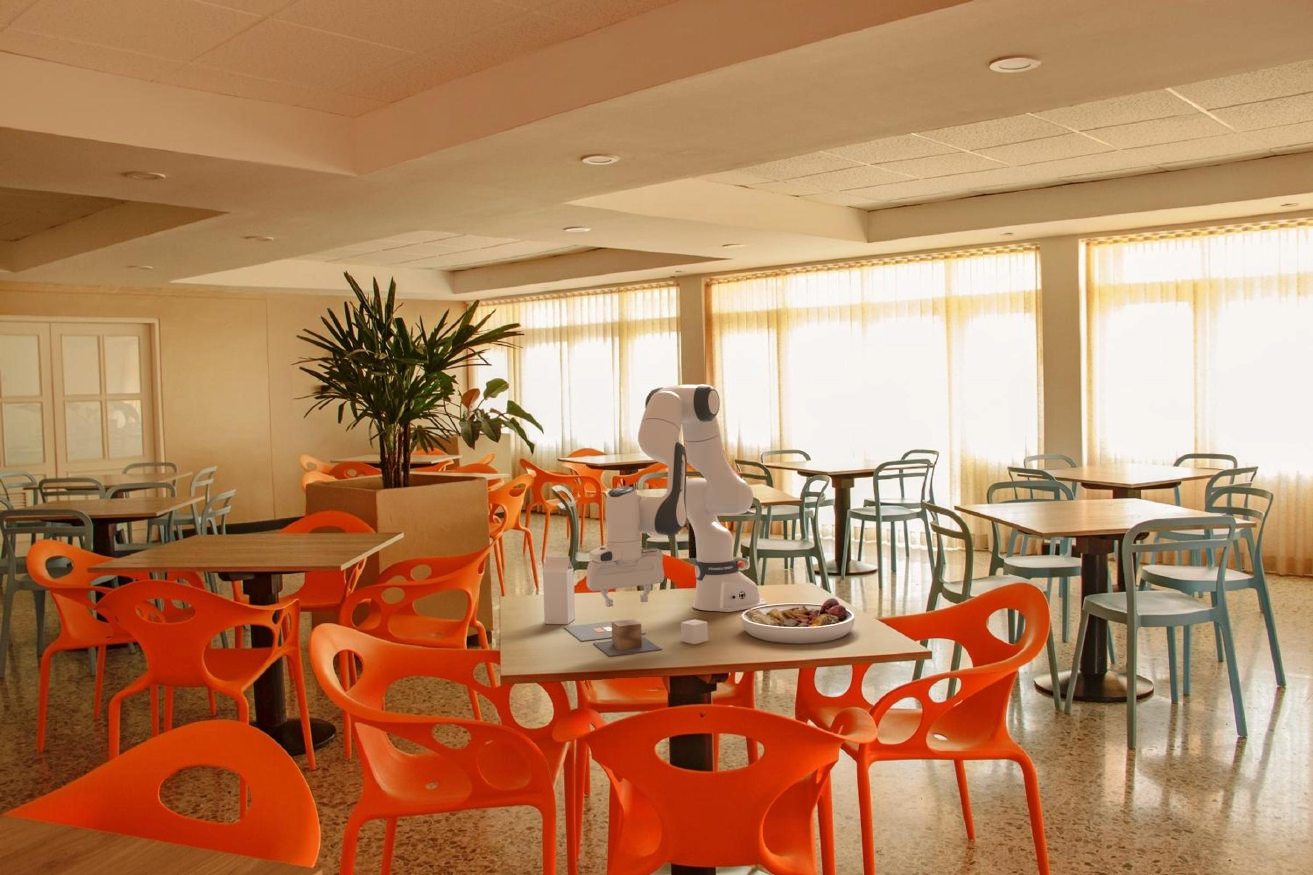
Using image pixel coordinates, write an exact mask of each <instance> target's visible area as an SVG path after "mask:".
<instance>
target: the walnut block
mask: <svg viewBox="0 0 1313 875" xmlns="http://www.w3.org/2000/svg"><path fill="white" fill-rule="evenodd" d="M621 620H622V621H619V620H612V621H613V622H612V638H611V639H612V640H611V641H612V645H614V646H615V647H616V648H618V649H619V650H622V649H630V648H638V647H642V637H643V636H642V635H643V634H642V633H641V630H642V623H640V622H639V621H637V620H635V618H632V619H621Z"/></svg>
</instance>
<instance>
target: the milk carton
mask: <svg viewBox="0 0 1313 875" xmlns="http://www.w3.org/2000/svg"><path fill="white" fill-rule="evenodd" d="M574 573H575V572H574V566H573V565H572V562H571V560H570V556H545V562H544V565H543V570H542V588H543V614H544V615H543V616H544V624H545V625H546V624H547V625H569V624H570V623H572V621H574V620H575V619H576V607H575V606H576V605H575V578H574V577H575V576H574Z"/></svg>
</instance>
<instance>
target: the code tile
mask: <svg viewBox="0 0 1313 875" xmlns="http://www.w3.org/2000/svg"><path fill="white" fill-rule="evenodd" d="M622 620H623V619H621V620H618V621H622ZM613 621H614V620H612V621H604V622H603V621H602V622H596V623H595V622H594V623H586V624H578V625H577V624H576V625H568V626H567V625H565V626H564V627H563V628H564V630H566V631H567V632H568V633H569V634H571V635H572V636H574V637H575V638H576V639H577V640H579V641H580V642H581V643H582V642H591V641H592V642H593V641H598V640H599V641H600V640H607V639H612V622H613ZM641 633H642V635H646V632H645V631H643V630H642V629H641Z"/></svg>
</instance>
